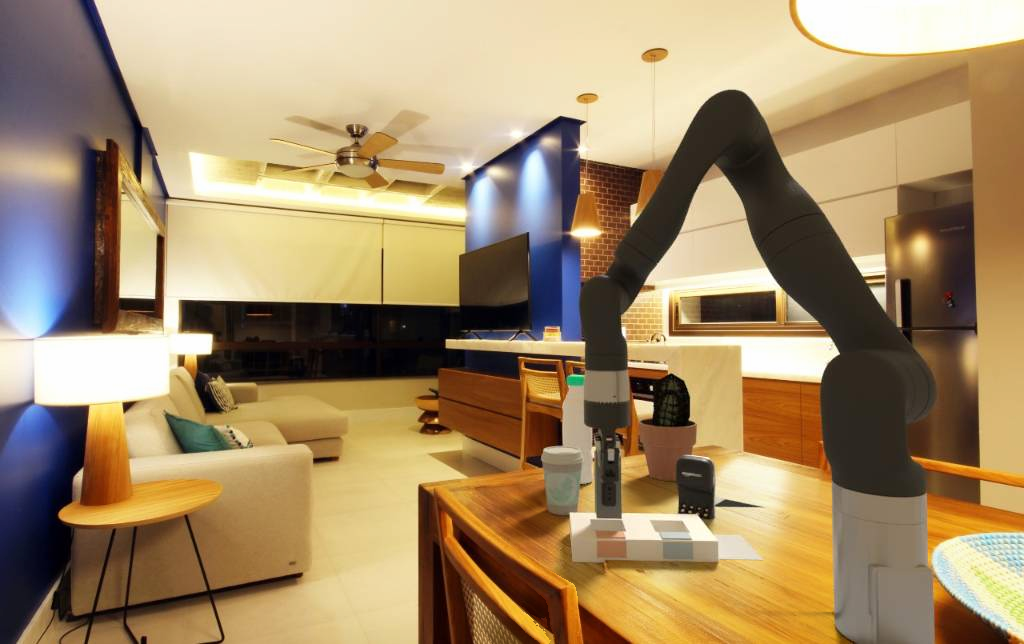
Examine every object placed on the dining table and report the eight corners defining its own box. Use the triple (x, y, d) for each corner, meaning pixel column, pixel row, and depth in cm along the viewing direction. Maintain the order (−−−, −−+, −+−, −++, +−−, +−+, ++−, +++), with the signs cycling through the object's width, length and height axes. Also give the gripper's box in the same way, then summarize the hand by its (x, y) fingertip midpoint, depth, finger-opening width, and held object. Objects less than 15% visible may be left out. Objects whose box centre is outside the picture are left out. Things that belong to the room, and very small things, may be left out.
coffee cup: (534, 513, 106) (533, 452, 106) (551, 501, 113) (551, 443, 114) (575, 520, 102) (574, 456, 102) (590, 507, 109) (589, 447, 110)
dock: (719, 565, 82) (718, 540, 82) (572, 562, 83) (572, 537, 84) (697, 535, 94) (696, 513, 94) (569, 532, 96) (569, 511, 96)
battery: (673, 516, 103) (672, 456, 104) (680, 511, 106) (679, 452, 107) (711, 524, 99) (710, 461, 99) (717, 518, 102) (716, 457, 103)
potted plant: (628, 471, 136) (627, 372, 137) (675, 467, 140) (674, 370, 141) (659, 486, 123) (657, 376, 124) (709, 481, 127) (708, 374, 128)
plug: (621, 518, 87) (621, 452, 87) (596, 518, 88) (595, 452, 88) (618, 510, 91) (618, 447, 91) (594, 510, 92) (594, 447, 92)
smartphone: (716, 500, 114) (716, 496, 114) (796, 517, 103) (795, 512, 103) (701, 509, 109) (701, 504, 109) (783, 528, 98) (783, 522, 98)
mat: (763, 563, 83) (763, 559, 83) (709, 562, 83) (709, 558, 83) (740, 538, 93) (740, 535, 93) (692, 537, 93) (692, 534, 93)
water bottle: (557, 479, 130) (556, 375, 130) (582, 475, 133) (581, 373, 133) (572, 486, 124) (571, 377, 124) (598, 483, 127) (597, 375, 127)
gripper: (635, 403, 82) (637, 516, 82) (623, 392, 97) (624, 488, 96) (586, 403, 83) (587, 515, 83) (581, 392, 97) (582, 488, 97)
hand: (607, 500), depth 90 cm, fingers closed on plug, 4 cm apart
